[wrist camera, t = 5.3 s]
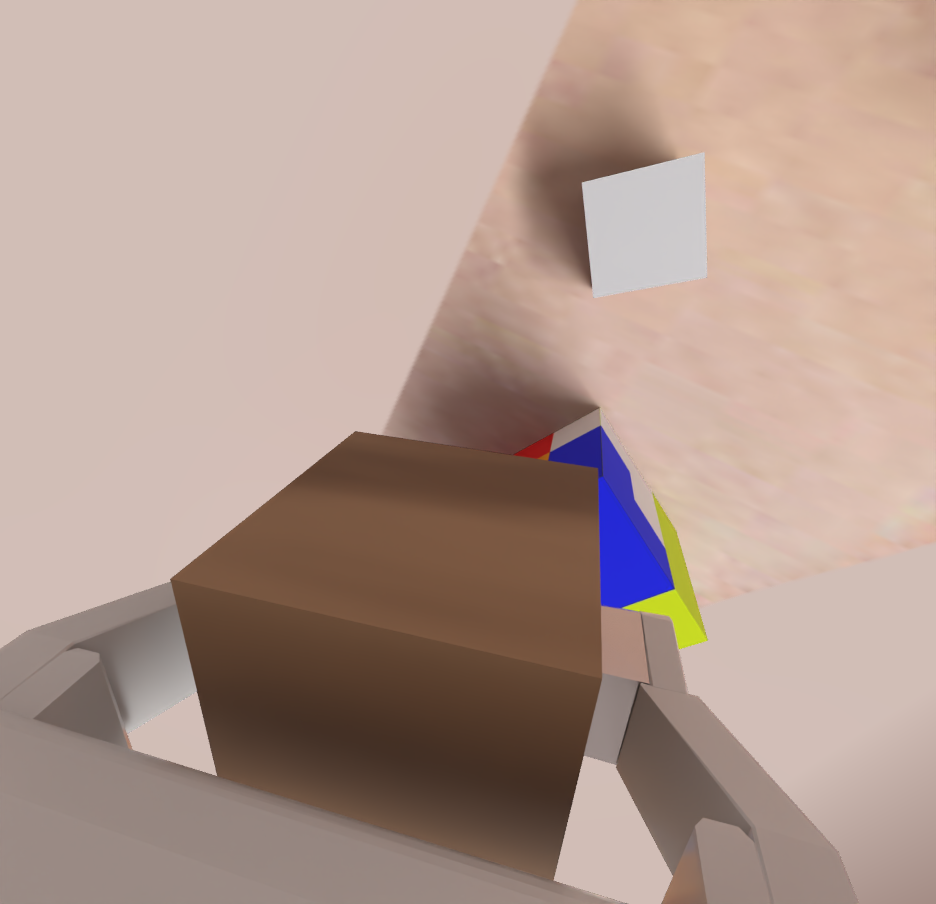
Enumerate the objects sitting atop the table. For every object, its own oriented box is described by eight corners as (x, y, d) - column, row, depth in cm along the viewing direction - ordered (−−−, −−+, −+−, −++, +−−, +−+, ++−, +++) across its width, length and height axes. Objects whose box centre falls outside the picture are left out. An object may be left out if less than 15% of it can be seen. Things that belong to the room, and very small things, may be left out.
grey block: (583, 192, 26) (581, 182, 22) (684, 168, 25) (704, 152, 20) (593, 289, 28) (593, 298, 23) (687, 271, 26) (707, 277, 22)
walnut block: (355, 431, 10) (169, 579, 6) (598, 468, 9) (601, 678, 5) (362, 615, 12) (229, 828, 8) (561, 660, 11) (540, 932, 7)
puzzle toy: (599, 407, 30) (603, 475, 21) (676, 530, 32) (707, 640, 23) (472, 476, 34) (429, 559, 25) (546, 582, 36) (531, 693, 27)
